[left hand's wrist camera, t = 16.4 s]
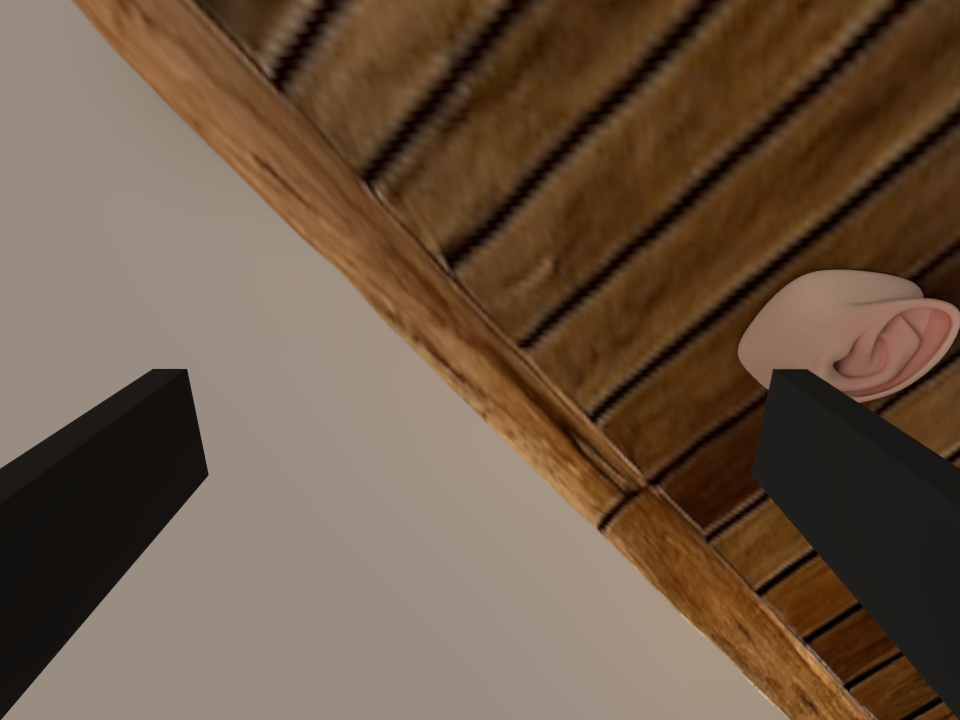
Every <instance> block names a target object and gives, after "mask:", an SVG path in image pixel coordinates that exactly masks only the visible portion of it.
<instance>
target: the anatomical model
mask: <svg viewBox="0 0 960 720" xmlns="http://www.w3.org/2000/svg"><path fill="white" fill-rule="evenodd" d="M959 328H960V312H959V310H958V309H957V308H956V307H955V306H954V305H952V304H950V303H948V302H945V301H941V300H937V299H930V298H924V297H923V293H922V291H921V289H920V288H919V287H918V286H917V285H916V284H915V283H913V282H911V281H909V280H906V279H903V278H900V277H896V276H892V275H887V274H881V273H875V272H867V271H856V270H823V271H816V272H812V273H808V274H806V275H803V276H801V277H799V278H797V279H795V280H794V281H792V282H791V283H789V284H788V285H786V286H785V287H784V288H783V289H781V290H780V291H779V292H778V293H777V294H776V295H775V296H774V297H773V298H772V299H771V300H770V301H769V302H768V303H767V304H766V305H765V306H764V308H763V309H762V310H761V311H760V312H759V313H758V315H757V316H756V317H755V319H754V320H753V321H752V323H751V324H750V325H749V327H748V329H747V330H746V332H745V333H744V335H743V337H742V339H741V341H740V343H739V346H738V357H739V359H740V361H741V363H742V364H743V366H744V367H745V368H746V370H747V371H748V372H749V373H750V374H751V375H752V376H753V377H754V378H755V379H756V380H757V381H758V382H759V383H760V384H762V385H763V386H764V387H765V388H767V389H768V390H769V386H770V381H771V376H772V371H773V369H808V370H809V371H811V372H812V373H814V374H816V375H817V376H819V377H820V378H822V379H823V380H825V381H826V382H828V383H829V384H831V385H832V386H834V387H835V388H837V389H838V390H840V391H842V392H843V393H845V394H846V395H848V396H849V397H851V398H852V399H854V400H855V401H857V402H858V403H861V402H865V401H869V400H873V399H877V398H881V397H884V396H887V395H890V394H892V393H895V392H897V391H899V390H901V389H903V388H905V387H907V386H908V385H910V384H912V383H913V382H914V381H916V380H917V379H919V378H920V377H922V376H923V375H924V374H925V373H927V372H928V371H929V370H930V369H931V368H932V367H933V366H935V365H936V364H937V363H938V362H939V360H940V359H941V358H942V357H943V356H944V355H945V353H946V352H947V351H948V349H949V348H950V346H951V345H952V343H953V341H954V339H955V338H956V336H957V333H958V331H959Z"/></svg>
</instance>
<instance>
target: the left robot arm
mask: <svg viewBox="0 0 960 720" xmlns="http://www.w3.org/2000/svg"><path fill="white" fill-rule="evenodd" d="M207 476H208V470H207V465H206V460H205V455H204V450H203V445H202V440H201V435H200V430H199V425H198V420H197V416H196V411H195V406H194V401H193V396H192V391H191V386H190V381H189V376H188V371H187V369H152V370H151V371H149V372H148V373H146V374H144V375H143V376H141V377H140V378H138V379H137V380H135V381H134V382H132V383H131V384H129V385H128V386H126V387H125V388H123V389H122V390H120V391H118V392H117V393H115V394H114V395H112V396H111V397H109V398H108V399H106V400H105V401H103V402H102V403H100V404H99V405H97V406H95V407H94V408H92V409H91V410H89V411H88V412H86V413H85V414H83V415H82V416H80V417H79V418H77V419H76V420H74V421H73V422H71V423H70V424H68V425H66V426H65V427H63V428H62V429H60V430H59V431H57V432H56V433H54V434H53V435H51V436H50V437H48V438H47V439H45V440H43V441H42V442H40V443H39V444H37V445H36V446H34V447H33V448H31V449H30V450H28V451H27V452H25V453H24V454H22V455H21V456H19V457H17V458H16V459H14V460H13V461H11V462H10V463H8V464H7V465H5V466H4V467H2V468H1V469H0V720H1V719H2V718H3V717H4V716H5V714H6V713H7V712H8V711H9V710H10V709H11V707H12V706H13V705H14V704H15V703H16V702H17V700H18V699H19V698H20V697H21V696H22V694H23V693H24V692H25V691H26V690H27V688H28V687H29V686H30V685H31V684H32V683H33V681H34V680H35V679H36V678H37V677H38V675H39V674H40V673H41V672H42V671H43V670H44V668H45V667H46V666H47V665H48V664H49V663H50V661H51V660H52V659H53V658H54V657H55V656H56V654H57V653H58V652H59V651H60V650H61V648H62V647H63V646H64V645H65V644H66V643H67V641H68V640H69V639H70V638H71V637H72V636H73V634H74V633H75V632H76V631H77V630H78V628H79V627H80V626H81V625H82V624H83V623H84V621H85V620H86V619H87V618H88V617H89V615H90V614H91V613H92V612H93V611H94V610H95V608H96V607H97V606H98V605H99V604H100V602H101V601H102V600H103V599H104V598H105V597H106V595H107V594H108V593H109V592H110V591H111V590H112V588H113V587H114V586H115V585H116V584H117V582H118V581H119V580H120V579H121V578H122V577H123V575H124V574H125V573H126V572H127V571H128V569H129V568H130V567H131V566H132V565H133V564H134V562H135V561H136V560H137V559H138V558H139V556H140V555H141V554H142V553H143V552H144V551H145V549H146V548H147V547H148V546H149V545H150V544H151V542H152V541H153V540H154V539H155V538H156V536H157V535H158V534H159V533H160V532H161V531H162V529H163V528H164V527H165V526H166V525H167V524H168V522H169V521H170V520H171V519H172V518H173V516H174V515H175V514H176V513H177V512H178V511H179V509H180V508H181V507H182V506H183V505H184V503H185V502H186V501H187V500H188V499H189V498H190V496H191V495H192V494H193V493H194V492H195V490H196V489H197V488H198V487H199V486H200V485H201V483H202V482H203V481H204V480H205V479H206V477H207ZM752 476H753V478H754V479H755V480H756V481H757V482H758V483H759V485H760V486H761V487H762V488H763V489H764V491H765V492H766V493H767V494H768V495H769V496H770V498H771V499H772V500H773V501H774V502H775V504H776V505H777V506H778V507H779V508H780V509H781V511H782V512H783V513H784V514H785V515H786V516H787V518H788V519H789V520H790V521H791V522H792V524H793V525H794V526H795V527H796V528H797V529H798V531H799V532H800V533H801V534H802V535H803V537H804V538H805V539H806V540H807V541H808V542H809V544H810V545H811V546H812V547H813V548H814V549H815V551H816V552H817V553H818V554H819V555H820V557H821V558H822V559H823V560H824V561H825V562H826V564H827V565H828V566H829V567H830V568H831V570H832V571H833V572H834V573H835V574H836V575H837V577H838V578H839V579H840V580H841V581H842V582H843V584H844V585H845V586H846V587H847V588H848V590H849V591H850V592H851V593H852V594H853V595H854V597H855V598H856V599H857V600H858V601H859V603H860V604H861V605H862V606H863V607H864V608H865V610H866V611H867V612H868V613H869V614H870V615H871V617H872V618H873V619H874V620H875V621H876V623H877V624H878V625H879V626H880V627H881V628H882V630H883V631H884V632H885V633H886V634H887V636H888V637H889V638H890V639H891V640H892V641H893V643H894V644H895V645H896V646H897V647H898V648H899V650H900V651H901V652H902V653H903V654H904V656H905V657H906V658H907V659H908V660H909V661H910V663H911V664H912V665H913V666H914V667H915V669H916V670H917V671H918V672H919V673H920V674H921V676H922V677H923V678H924V679H925V680H926V681H927V683H928V684H929V685H930V686H931V687H932V689H933V690H934V691H935V692H936V693H937V694H938V696H939V697H940V698H941V699H942V700H943V702H944V703H945V704H946V705H947V706H948V707H949V709H950V710H951V711H952V712H953V713H954V714H955V716H956V717H957V718H958V719H959V720H960V469H959V468H958V467H956V466H955V465H953V464H952V463H950V462H949V461H947V460H946V459H944V458H943V457H941V456H939V455H938V454H936V453H935V452H933V451H932V450H930V449H929V448H927V447H926V446H924V445H923V444H921V443H920V442H918V441H917V440H915V439H913V438H912V437H910V436H909V435H907V434H906V433H904V432H903V431H901V430H900V429H898V428H897V427H895V426H894V425H892V424H891V423H889V422H887V421H886V420H884V419H883V418H881V417H880V416H878V415H877V414H875V413H874V412H872V411H871V410H869V409H868V408H866V407H865V406H863V405H861V404H860V403H858V402H857V401H855V400H854V399H852V398H851V397H849V396H848V395H846V394H845V393H843V392H842V391H840V390H838V389H837V388H835V387H834V386H832V385H831V384H829V383H828V382H826V381H825V380H823V379H822V378H820V377H819V376H817V375H816V374H814V373H812V372H811V371H809V370H808V369H773V371H772V376H771V381H770V386H769V391H768V396H767V401H766V406H765V411H764V416H763V420H762V425H761V430H760V435H759V440H758V445H757V450H756V455H755V460H754V465H753V470H752Z"/></svg>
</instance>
